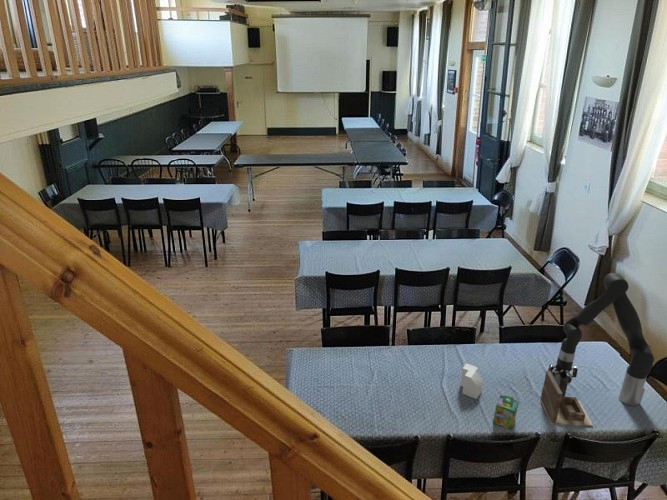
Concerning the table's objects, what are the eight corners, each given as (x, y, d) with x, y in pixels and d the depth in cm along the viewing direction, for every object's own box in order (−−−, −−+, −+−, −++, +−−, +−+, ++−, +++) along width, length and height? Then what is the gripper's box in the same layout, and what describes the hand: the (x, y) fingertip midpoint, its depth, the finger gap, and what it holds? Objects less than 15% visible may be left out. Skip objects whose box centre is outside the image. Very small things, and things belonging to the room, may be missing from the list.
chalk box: (492, 423, 243) (496, 399, 237) (497, 412, 250) (501, 389, 244) (511, 430, 239) (515, 406, 233) (515, 419, 246) (520, 395, 240)
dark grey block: (559, 386, 269) (563, 369, 264) (564, 396, 262) (569, 378, 257) (552, 386, 269) (556, 368, 264) (557, 396, 262) (561, 378, 257)
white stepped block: (463, 380, 273) (466, 363, 269) (483, 388, 267) (486, 370, 263) (456, 391, 265) (458, 373, 261) (476, 399, 259) (479, 381, 255)
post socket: (579, 402, 257) (586, 372, 250) (592, 426, 241) (601, 396, 233) (540, 399, 259) (546, 370, 252) (551, 424, 242) (558, 393, 235)
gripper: (577, 353, 260) (571, 378, 266) (549, 352, 261) (544, 376, 267) (582, 362, 253) (576, 387, 259) (554, 360, 254) (548, 385, 260)
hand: (560, 382), depth 263 cm, fingers open, 8 cm apart
